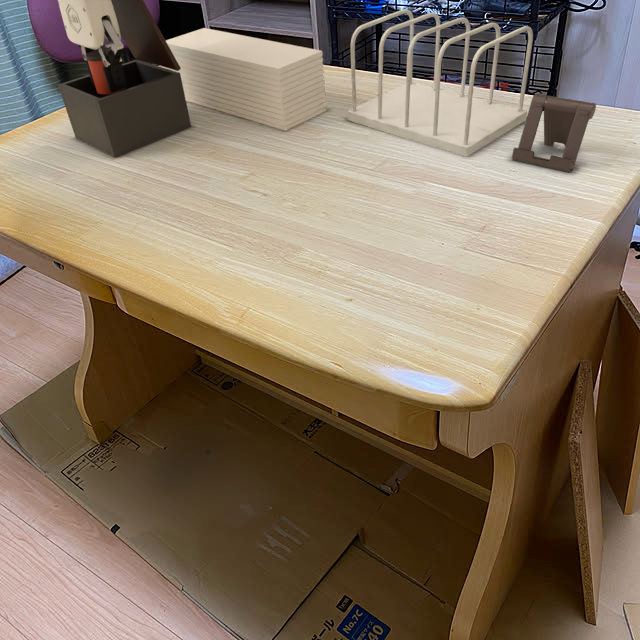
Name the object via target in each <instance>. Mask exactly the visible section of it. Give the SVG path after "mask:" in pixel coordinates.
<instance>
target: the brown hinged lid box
mask: <svg viewBox="0 0 640 640" xmlns="http://www.w3.org/2000/svg"><path fill="white" fill-rule="evenodd" d="M122 67H123V71H124V74H125V78H126V82H127V87H126V88H125V89H124V90H122V91H120V92H117V93H114V94H99V93H97V90H96V87H95V85H93V84H92V81H91V78H90V74H87V75H84V76H81V77H79V78H78V77H77V78H74V79H71V80H68V81H65V82H62V83H59V84H57V86H58V90H59V92H60V95H61V98H62V102H63V104H64V108H65V110H66V114H67V116H68V119H69V122H70V125H71V128H72V132H73V135H74V137H75V139H76V140H78V141H80V142H82V143H84V144H86V145H88V146H90V147H92V148H94V149H96V150H98V151H100V152H102V153H104V154H106V155H108V156H109V157H112V158H114V159H116V158H119V157H121V156H124V155H127V154H130V153H131V152H133V151H136V150H139V149H141V148H143V147H147V146H148V145H149V146H150V145H151V144H153V143H157V142H158V141H160V140H163V139H166V138H168V137H171V136H174V135H176V134H178V133H181V132H183V131H185V130H187V129H190V128H192V122H191V118H190V113H189V109H188V104H187V101H186V99H185V94H184V89H183V84H182V80H181V75H180V73H179V72H176V71H172V70H169V69H168V68H166V67H163V66H159V65H156V64H153V63H150V62H146V61H143V60H140V59H134V60H131V61H128V62H125V63H122Z"/></svg>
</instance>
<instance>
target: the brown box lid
mask: <svg viewBox="0 0 640 640" xmlns="http://www.w3.org/2000/svg"><path fill="white" fill-rule="evenodd" d="M111 1H112V5H113V8H114V11H115V14H116V18H117V21H118V25H119V30H120V35H121V39H123V41H124V43H125V44H126V46H127V48H128V49H129V51H130V53H131V54H132V56H133V57H134V59H135V60H140V61H143V62H146V63H149V64H153V65H156V66H159V67H163V68H166V69H168V68H169V69H173V70H176V71H179V70H180V69H181V68H180V66H179V64H178V62H177V60H176V59H175V57H174V55H173V53H172V51H171V50H170V48H169V46H168V44H167V42H166V39H165V36H164V35H163V33H162V32H161V30H160V28H159V26H158V24H157V23H156V21H155V19H154V17H153V15H152V13H151V11H150V10H149V8H148V6H147V4H146V3H145V0H111Z"/></svg>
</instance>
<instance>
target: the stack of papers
mask: <svg viewBox="0 0 640 640" xmlns="http://www.w3.org/2000/svg"><path fill="white" fill-rule="evenodd" d="M165 41H166V42H167V44H168V46H169V48H170V50H171V51H172V53H173V55H174V57H175V59H176V60H177V62H178V64H179V66H180V68H181V69H180V70H179V71H176V70H173V69H169V68H167V69H169V70H172V71H176V72H179V73H180V75H181V80H182V84H183V89H184V94H185V99H186V102H189V103H193V104H196V105H200V106H201V107H206V108H209V109H212V110H216V111H219V112H223V113H226V114H229V115H232V116H235V117H239V118H242V119H246V120H249V121H252V122H256V123H259V124H262V125H265V126H269V127H271V128H275V129H279V130H283V131H285V132H286V131H288V130H290V129H292V128H294V127H296V126H298V125H300V124H303V123H304V122H306V121H308V120H310V119H312V118H315V117H316V116H319V115H321V114H323V113H325V112H327V102H326V101H327V100H326V91H325V90H326V86H325V80H324V79H325V74H324V73H325V72H324V63H323V62H324V58H323V56H324V55H323V54H324V53H323V50H320V49H315V48H310V47H304V46H300V45H299V46H298V45H294V44H290V43H283V42H279V41H273V40H270V39H269V40H268V39H262V38H259V37H253V36H247V35H243V34H237V33H232V32H228V31H222V30H217V29H211V28H205V27H202V28H200V29H197V30H194V31H191V32H187V33H185V34H181V35H178V36H175V37H173V38H169V39H165Z"/></svg>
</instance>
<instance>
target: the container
mask: <svg viewBox="0 0 640 640" xmlns="http://www.w3.org/2000/svg"><path fill="white" fill-rule="evenodd" d="M110 50H111V48H108V49H105V52H106V54H107V55H108V51H110ZM86 59H87V60H86V61H88V63H89V67H90V70H91V73H92V77H93V80H94V83H95V87H96V90H97V93H99V94H114V93H117V92H120V91H122V90H124V89H125V88H123V89H120V90H117V91H114V92H111V91H110V90H109V88H108V84H107V81H106V78H105V74H104V71H103V67H104V66H105V65H104V63H103V60H102V58H101V55H100V53H99V51H98V50H94V51H91V52H89V53H87V54H86Z"/></svg>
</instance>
